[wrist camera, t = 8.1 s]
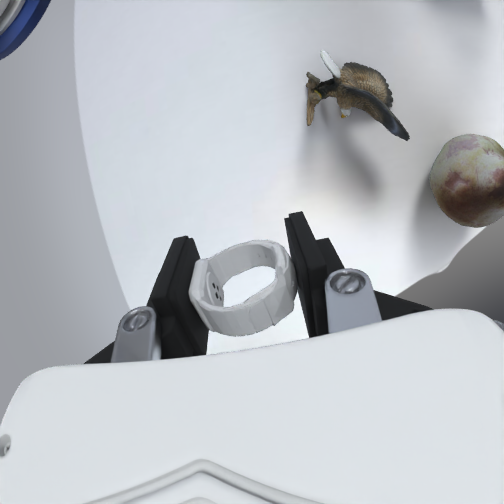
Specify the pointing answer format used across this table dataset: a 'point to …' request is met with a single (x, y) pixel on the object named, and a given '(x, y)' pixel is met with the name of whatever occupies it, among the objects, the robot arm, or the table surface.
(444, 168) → the fruit
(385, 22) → the table surface
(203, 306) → the smartwatch
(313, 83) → the eagle figurine
